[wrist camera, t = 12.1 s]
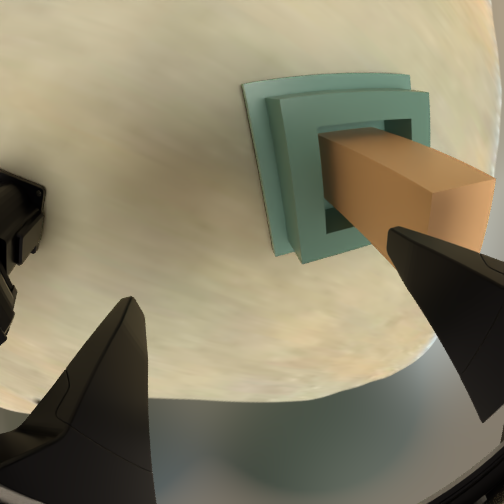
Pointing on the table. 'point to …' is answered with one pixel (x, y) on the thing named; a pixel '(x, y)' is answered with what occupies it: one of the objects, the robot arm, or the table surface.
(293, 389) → the table surface
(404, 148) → the plug
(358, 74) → the socket housing
